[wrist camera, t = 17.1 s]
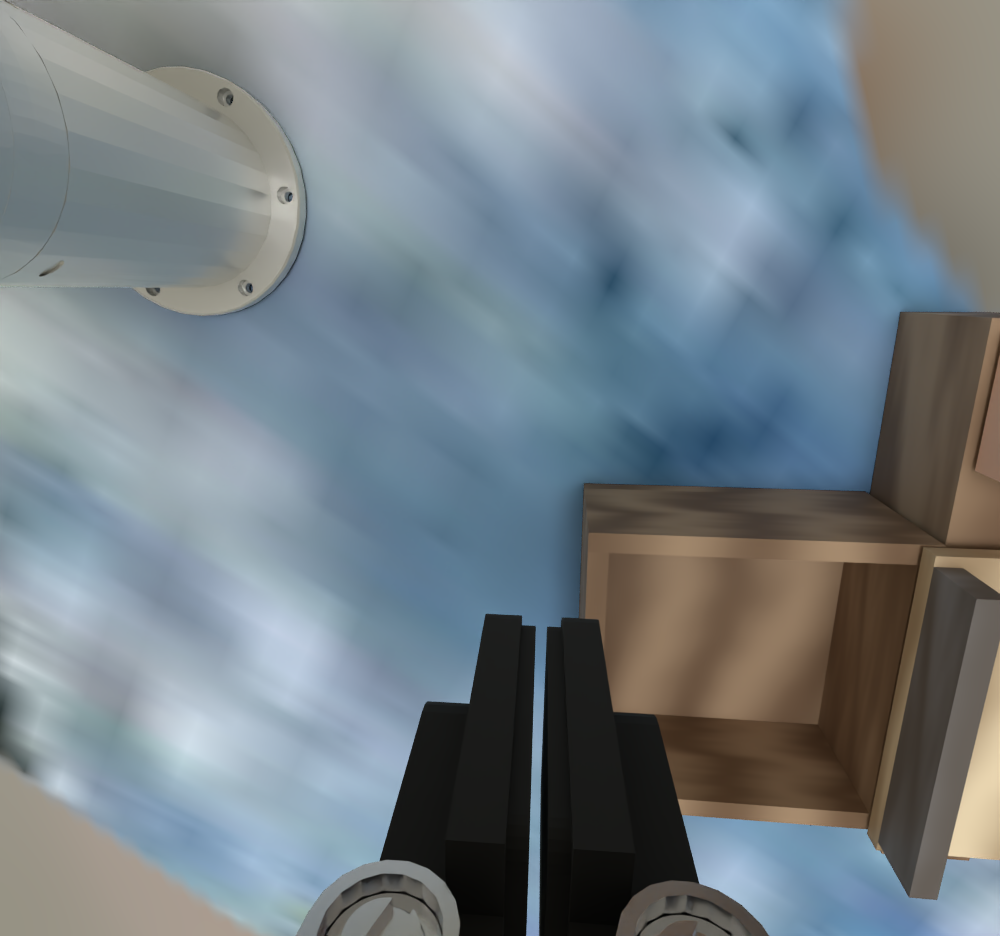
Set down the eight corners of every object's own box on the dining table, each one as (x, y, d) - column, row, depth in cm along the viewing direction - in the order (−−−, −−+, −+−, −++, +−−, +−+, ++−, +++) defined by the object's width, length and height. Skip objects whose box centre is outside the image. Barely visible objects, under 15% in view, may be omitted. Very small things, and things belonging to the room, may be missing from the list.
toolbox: (574, 738, 43) (576, 836, 35) (590, 310, 35) (597, 317, 27) (897, 759, 41) (974, 868, 33) (989, 312, 33) (1117, 319, 25)
